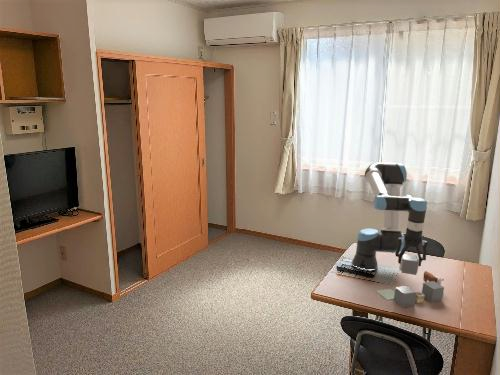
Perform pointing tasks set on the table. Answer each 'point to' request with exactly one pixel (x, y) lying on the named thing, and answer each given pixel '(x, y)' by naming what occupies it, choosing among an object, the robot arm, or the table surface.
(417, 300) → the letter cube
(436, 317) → the table surface
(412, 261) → the grey box
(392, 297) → the mat
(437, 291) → the grey cube
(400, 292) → the grey block
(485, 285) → the table surface
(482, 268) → the table surface
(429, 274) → the bull figurine
